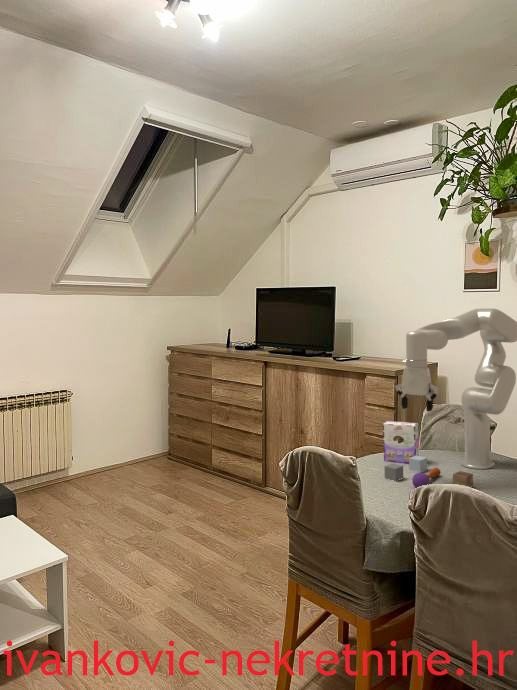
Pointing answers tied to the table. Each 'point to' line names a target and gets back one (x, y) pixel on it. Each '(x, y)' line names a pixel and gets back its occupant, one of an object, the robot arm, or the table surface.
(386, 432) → the candy box
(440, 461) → the table surface
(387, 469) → the charcoal block
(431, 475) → the kendama
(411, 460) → the dusty blue block
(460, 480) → the walnut block
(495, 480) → the table surface
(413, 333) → the robot arm
